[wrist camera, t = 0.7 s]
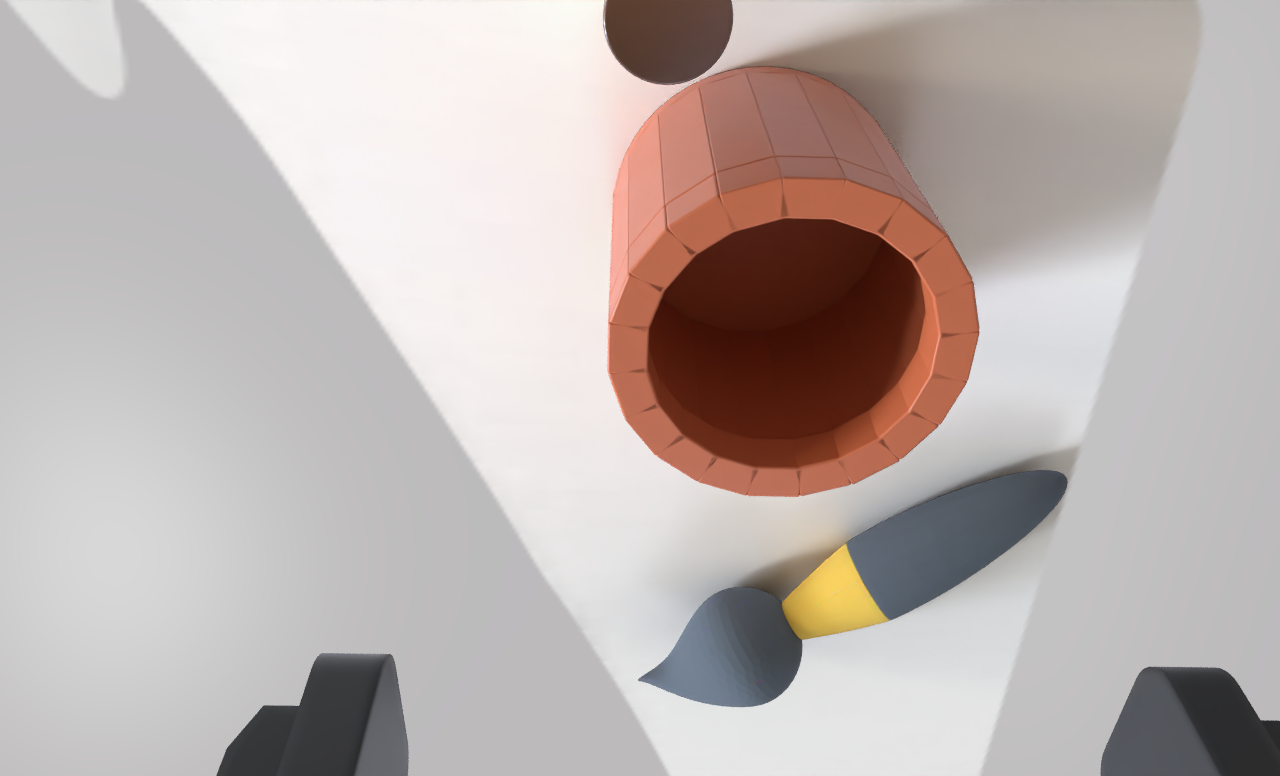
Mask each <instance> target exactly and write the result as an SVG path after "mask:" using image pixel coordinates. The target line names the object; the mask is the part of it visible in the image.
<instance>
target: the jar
mask: <svg viewBox="0 0 1280 776" xmlns="http://www.w3.org/2000/svg"><path fill="white" fill-rule="evenodd" d="M978 337H979V322H978V314H977V306H976V298H975V290H974V283H973V281H972V277H971V275H970V273H969V271H968V270H967V268H966V266H965V264H964V263H963V261H962V259H961V257H960V255H959V254H958V252H957V250H956V248H955V247H954V245H953V243H952V241H951V239H950V238H949V236H948V234H947V233H946V231H945V229H944V228H943V226H942V225H941V223H940V222H939V220H938V218H937V217H936V215H935V214H934V212H933V210H932V209H931V207H930V206H929V204H928V202H927V201H926V199H925V198H924V196H923V194H922V193H921V191H920V190H919V188H918V186H917V185H916V183H915V182H914V180H913V179H912V177H911V175H910V174H909V172H908V171H907V169H906V167H905V166H904V164H903V163H902V161H901V159H900V158H899V156H898V155H897V153H896V151H895V150H894V148H893V147H892V145H891V144H890V142H889V140H888V139H887V137H886V136H885V134H884V132H883V131H882V129H881V128H880V126H879V124H878V123H877V121H876V120H875V119H874V118H873V117H872V116H871V115H870V114H869V113H868V112H867V111H866V110H865V108H864V107H863V106H862V105H861V104H860V103H859V102H858V101H857V100H855V99H854V98H853V97H852V96H850V95H849V94H848V93H846V92H845V91H844V90H842V89H841V88H839V87H837V86H836V85H834V84H832V83H830V82H828V81H827V80H825V79H822V78H819V77H817V76H814V75H812V74H809V73H806V72H801V71H797V70H793V69H789V68H779V67H748V68H742V69H736V70H730V71H726V72H723V73H720V74H716V75H713V76H710V77H708V78H705V79H703V80H701V81H699V82H697V83H694V84H692V85H690V86H689V87H687V88H685V89H684V90H682V91H681V92H679V93H677V94H676V95H674V96H673V97H672V98H670V99H669V100H668V101H667V102H666V103H664V104H663V105H662V106H661V107H659V108H658V109H657V110H656V111H655V112H654V114H653V115H652V116H651V117H650V118H649V119H648V120H647V121H646V122H645V123H644V125H643V126H642V127H641V129H640V130H639V132H638V133H637V134H636V136H635V137H634V139H633V141H632V143H631V144H630V146H629V148H628V150H627V152H626V154H625V156H624V159H623V161H622V164H621V167H620V169H619V173H618V177H617V181H616V186H615V190H614V194H613V216H612V241H611V267H610V293H609V319H608V373H609V377H610V380H611V383H612V386H613V388H614V391H615V394H616V397H617V399H618V402H619V405H620V408H621V410H622V413H623V415H624V416H625V420H626V421H627V422H628V424H629V425H630V426H631V427H632V428H633V430H634V431H635V432H636V433H637V434H638V435H639V437H640V438H641V439H642V440H643V441H644V443H645V444H646V445H647V446H648V447H649V449H650V450H651V451H652V452H653V453H654V455H657V457H659V458H660V459H662V460H663V461H665V462H667V463H668V464H670V465H671V466H673V467H675V468H676V469H678V470H680V471H681V472H683V473H684V474H686V475H688V476H689V477H691V478H692V479H694V480H696V481H698V482H700V483H703V484H707V485H710V486H714V487H717V488H721V489H725V490H728V491H732V492H735V493H739V494H742V495H748V496H785V497H798V496H799V495H801V496H804V495H808V494H813V493H817V492H821V491H826V490H830V489H835V488H839V487H843V486H848V485H850V484H851V483H852V484H855V483H857V482H859V481H861V480H863V479H865V478H867V477H869V476H871V475H873V474H875V473H877V472H879V471H881V470H883V469H885V468H887V467H889V466H891V465H893V464H895V463H897V462H898V461H899V459H902V458H903V457H904V456H906V455H907V454H908V453H909V452H910V451H911V450H912V449H913V448H915V447H916V446H917V445H918V444H919V443H920V442H921V441H922V440H924V439H925V438H926V437H927V436H928V435H929V434H930V433H931V432H933V431H934V430H935V429H936V428H937V427H938V426H939V424H941V423H942V421H943V420H944V418H945V417H946V415H947V413H948V412H949V410H950V409H951V407H952V405H953V404H954V402H955V401H956V399H957V398H958V396H959V394H960V393H961V391H962V390H963V388H964V386H965V385H966V383H967V380H968V378H969V374H970V370H971V366H972V362H973V357H974V353H975V349H976V345H977V341H978Z"/></svg>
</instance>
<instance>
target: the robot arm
mask: <svg viewBox="0 0 1280 776" xmlns="http://www.w3.org/2000/svg"><path fill="white" fill-rule="evenodd" d="M217 776H408V741H407V734H406V728H405V722H404V716H403V709H402V703H401V697H400V691H399V684H398V678H397V672H396V666H395V661H394V658H393V656H392V655H391V654H338V653H337V654H334V653H322V654H320V655H319V656H318V657H317V658H316V660H315V662H314V664H313V667H312V669H311V672H310V675H309V678H308V681H307V684H306V687H305V690H304V693H303V697H302V699H301V703H300V705H299V706H263V707H262V708H261V709H260V710H259V712H258V713H257V714H256V715H255V716H254V718H253V719H252V720H251V721H250V722H249V723H248V724H247V726H246V727H245V728H244V729H243V730H242V731H241V733H240V734H239V735H238V736H237V737H236V738H235V739H234V741H233V742H232V743H231V744H230V745H229V746H228V748H227V750H226V752H225V755H224V757H223V760H222V763H221V765H220V768H219V771H218V773H217ZM1101 776H1280V721H1261V720H1260V719H1259V717H1258V715H1257V714H1256V712H1255V711H1254V709H1253V707H1252V706H1251V704H1250V702H1249V701H1248V699H1247V697H1246V696H1245V695H1244V693H1243V691H1242V689H1241V688H1240V686H1239V685H1238V683H1237V682H1236V680H1235V679H1234V678H1233V677H1232V676H1231V675H1230V674H1229V673H1228V672H1226V671H1225V670H1223V669H1220V668H1202V667H1199V668H1198V667H1147V668H1145V669H1143V670H1142V671H1141V672H1140V673H1139V675H1138V677H1137V678H1136V681H1135V683H1134V685H1133V687H1132V690H1131V692H1130V694H1129V696H1128V699H1127V701H1126V703H1125V705H1124V707H1123V710H1122V712H1121V714H1120V717H1119V719H1118V721H1117V723H1116V725H1115V728H1114V730H1113V732H1112V734H1111V737H1110V739H1109V741H1108V743H1107V745H1106V748H1105V750H1104V753H1103V756H1102V762H1101Z"/></svg>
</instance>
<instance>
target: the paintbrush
mask: <svg viewBox="0 0 1280 776" xmlns="http://www.w3.org/2000/svg"><path fill="white" fill-rule="evenodd" d="M1066 488H1067V478H1066V476H1065V475H1063V474H1062V473H1059V472H1057V471H1050V470H1037V471H1027V472H1021V473H1015V474H1011V475H1006V476H1002V477H998V478H995V479H991V480H988V481H984V482H981V483H978V484H974V485H971V486H968V487H965V488H962V489H960V490H957V491H954V492H951V493H948V494H945V495H943V496H940V497H938V498H935V499H933V500H930V501H928V502H926V503H923V504H921V505H918V506H916V507H913V508H911V509H909V510H907V511H905V512H903V513H900V514H898V515H896V516H894V517H892V518H890V519H888V520H886V521H884V522H882V523H880V524H878V525H876V526H874V527H872V528H870V529H869V530H867V531H865V532H863V533H861V534H860V535H858V536H856V537H854V538H853V539H851V540H850V541H848V542H847V543H845V544H844V545H843V546H841V547H840V548H839V549H838V550H837V551H836V552H834V553H833V554H832V555H831V556H830V557H829V558H828V559H826V560H825V561H824V562H823V563H822V564H821V565H820V566H819V567H818V568H816V569H815V570H814V571H813V572H812V573H811V574H810V575H809V576H808V577H807V578H806V579H805V580H804V581H803V582H802V583H801V584H800V585H799V586H798V587H796V588H795V589H794V590H793V591H792V592H791V594H790V595H789V596H788V597H787V598H786V599H785V600H784V601H783V602H782V601H780V600H779V599H778V598H776V597H775V596H773V595H772V594H770V593H767V592H765V591H762V590H759V589H755V588H750V587H734V588H728V589H725V590H722V591H720V592H718V593H716V594H714V595H712V596H711V597H710V598H708V599H707V600H706V601H705V602H704V603H703V604H702V605H701V606H700V607H699V609H698V610H697V611H696V612H695V614H694V615H693V617H692V618H691V620H690V621H689V623H688V624H687V626H686V628H685V630H684V631H683V633H682V635H681V637H680V639H679V640H678V642H677V644H676V645H675V647H674V649H673V650H672V652H671V653H670V654H669V656H668V657H667V658H666V659H665V660H664V661H663V662H662V663H661V664H659V665H658V666H657V667H655V668H654V669H653V670H651V671H649V672H648V673H646V674H645V675H643V676H642V677H641V678H639V679H638V681H643V682H646V683H649V684H652V685H654V686H656V687H659V688H661V689H664V690H666V691H668V692H671V693H673V694H676V695H679V696H681V697H684V698H687V699H690V700H694V701H698V702H702V703H707V704H712V705H719V706H729V707H751V706H757V705H762V704H765V703H768V702H770V701H772V700H774V699H775V698H777V697H778V696H779V695H781V694H782V693H783V692H784V691H785V690H786V689H787V688H788V687H789V685H790V684H791V682H792V681H793V679H794V677H795V675H796V674H797V671H798V668H799V665H800V662H801V657H802V640H804V639H810V638H815V637H821V636H826V635H832V634H837V633H841V632H846V631H851V630H855V629H860V628H864V627H867V626H871V625H875V624H879V623H883V622H886V621H889V620H892V619H895V618H897V617H899V616H901V615H903V614H905V613H907V612H910V611H912V610H914V609H915V608H917V607H919V606H921V605H923V604H925V603H927V602H929V601H931V600H932V599H934V598H936V597H938V596H939V595H941V594H943V593H945V592H946V591H948V590H950V589H951V588H953V587H955V586H956V585H958V584H960V583H961V582H963V581H964V580H966V579H967V578H969V577H970V576H972V575H973V574H975V573H976V572H978V571H979V570H981V569H983V568H984V567H986V566H987V565H988V564H990V563H991V562H992V561H994V560H995V559H996V558H998V557H999V556H1001V555H1002V554H1003V553H1005V552H1006V551H1007V550H1009V549H1010V548H1011V547H1012V546H1014V545H1015V544H1016V543H1018V542H1019V541H1020V540H1021V539H1022V538H1024V537H1025V536H1026V535H1027V534H1028V533H1029V532H1031V531H1032V530H1033V529H1034V528H1035V527H1036V526H1037V525H1038V524H1039V523H1040V522H1041V521H1042V520H1043V519H1044V518H1045V517H1046V516H1047V515H1048V514H1049V513H1050V512H1051V511H1052V510H1053V509H1054V507H1055V506H1056V505H1057V504H1058V502H1059V501H1060V499H1061V498H1062V496H1063V494H1064V493H1065V490H1066Z"/></svg>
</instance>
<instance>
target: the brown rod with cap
mask: <svg viewBox="0 0 1280 776" xmlns="http://www.w3.org/2000/svg"><path fill="white" fill-rule="evenodd" d="M732 25H733V8H732V2H731V0H604V11H603V27H604V32H605V37H606V40H607V43H608V45H609V48H610V50H611V52H612V53H613V55H614V56H615V58H616V59H617V61H618V62H619V63H620V64H621V65H622V66H623V67H624V68H625V69H626V70H627V71H628V72H630V73H631V74H633V75H634V76H636V77H638V78H640V79H642V80H644V81H647V82H650V83H655V84H662V85H674V84H679V83H684V82H687V81H690V80H692V79H694V78H697V77H698V76H700V75H702V74H703V73H705V72H706V71H707V70H708V69H710V68H711V67H712V66H713V65H714V64H715V63H716V62H717V60H718V59H719V58H720V56H721V55H722V53H723V52H724V50H725V48H726V46H727V44H728V41H729V39H730V35H731V31H732Z"/></svg>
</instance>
